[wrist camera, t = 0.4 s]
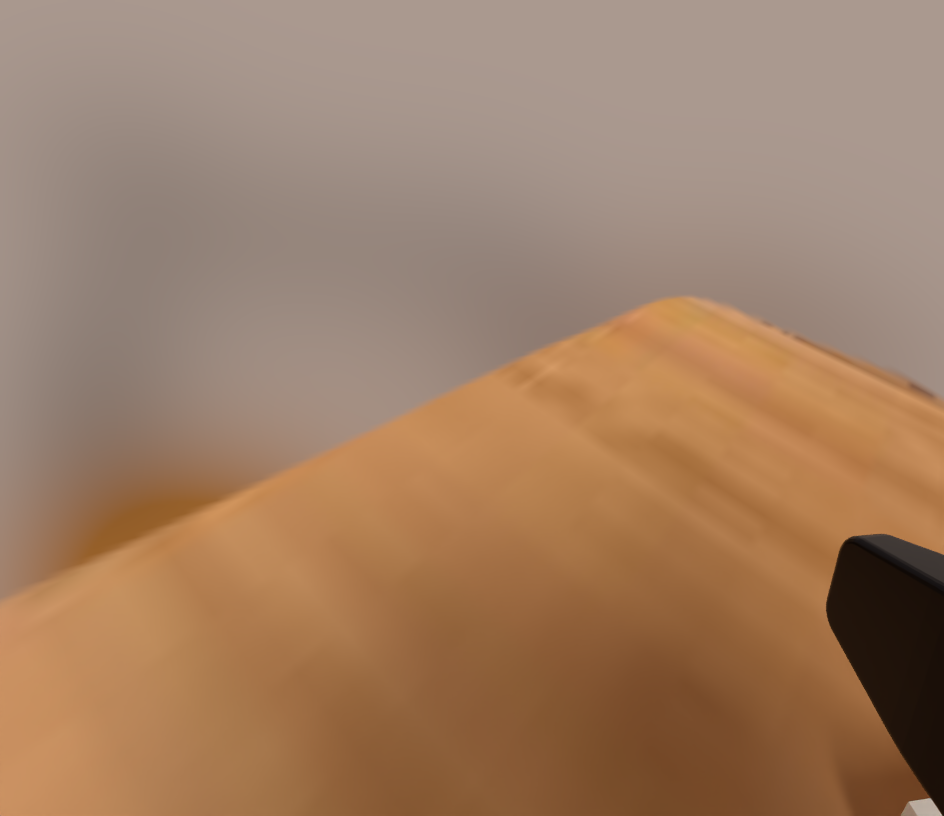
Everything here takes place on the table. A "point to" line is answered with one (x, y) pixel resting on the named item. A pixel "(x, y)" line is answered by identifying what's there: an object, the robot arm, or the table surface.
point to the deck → (921, 808)
